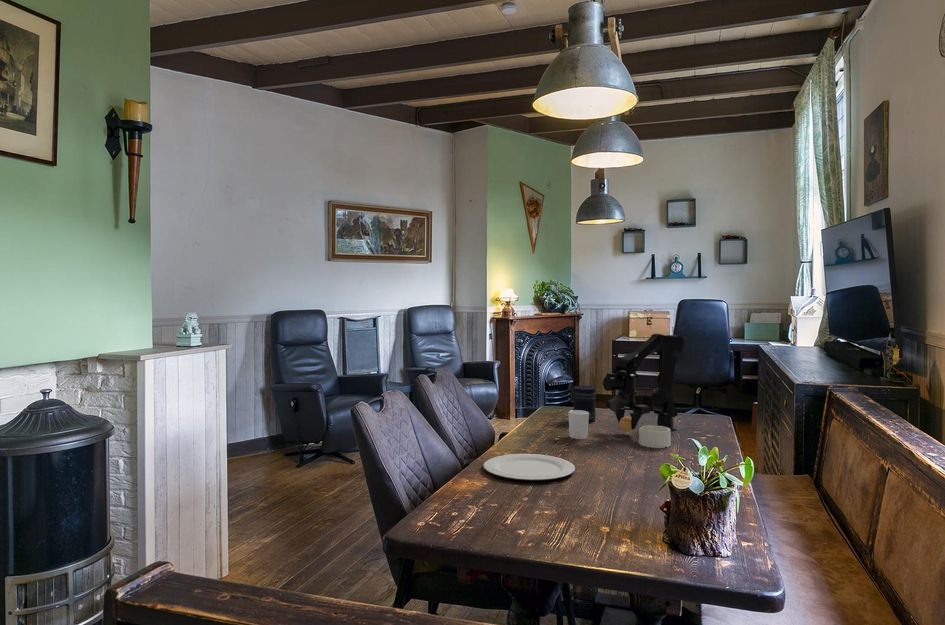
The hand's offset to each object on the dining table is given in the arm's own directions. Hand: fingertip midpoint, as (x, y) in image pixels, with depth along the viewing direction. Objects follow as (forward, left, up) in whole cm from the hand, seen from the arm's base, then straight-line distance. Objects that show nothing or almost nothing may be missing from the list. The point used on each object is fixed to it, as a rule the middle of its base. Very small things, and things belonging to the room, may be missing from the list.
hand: (626, 428), depth 250 cm
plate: (+65, +17, -3) cm, 68 cm away
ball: (0, 0, +2) cm, 2 cm away
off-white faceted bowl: (+4, +17, -3) cm, 18 cm away
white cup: (+20, -7, -3) cm, 21 cm away
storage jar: (-4, -28, -3) cm, 28 cm away
